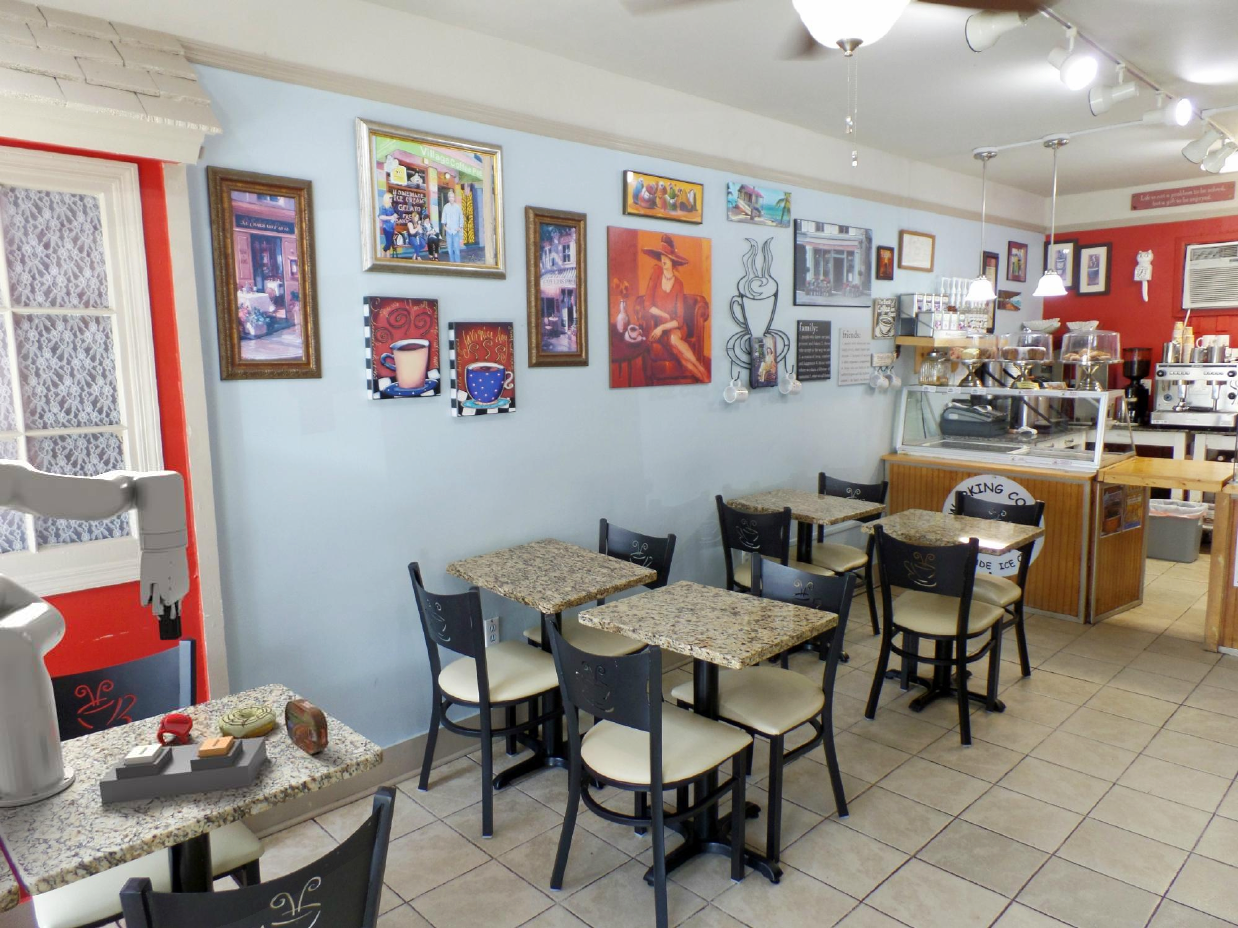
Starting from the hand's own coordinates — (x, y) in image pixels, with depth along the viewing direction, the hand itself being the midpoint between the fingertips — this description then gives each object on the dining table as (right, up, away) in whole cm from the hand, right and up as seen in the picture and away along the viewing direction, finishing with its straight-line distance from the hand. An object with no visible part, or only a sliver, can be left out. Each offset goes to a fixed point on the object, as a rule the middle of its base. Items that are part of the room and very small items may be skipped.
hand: (171, 638), depth 147 cm
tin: (+21, -23, +10) cm, 33 cm away
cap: (-6, -24, +14) cm, 28 cm away
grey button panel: (+4, -25, -2) cm, 25 cm away
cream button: (-2, -21, -5) cm, 22 cm away
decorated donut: (+6, -23, +18) cm, 29 cm away
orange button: (+10, -20, -4) cm, 23 cm away
